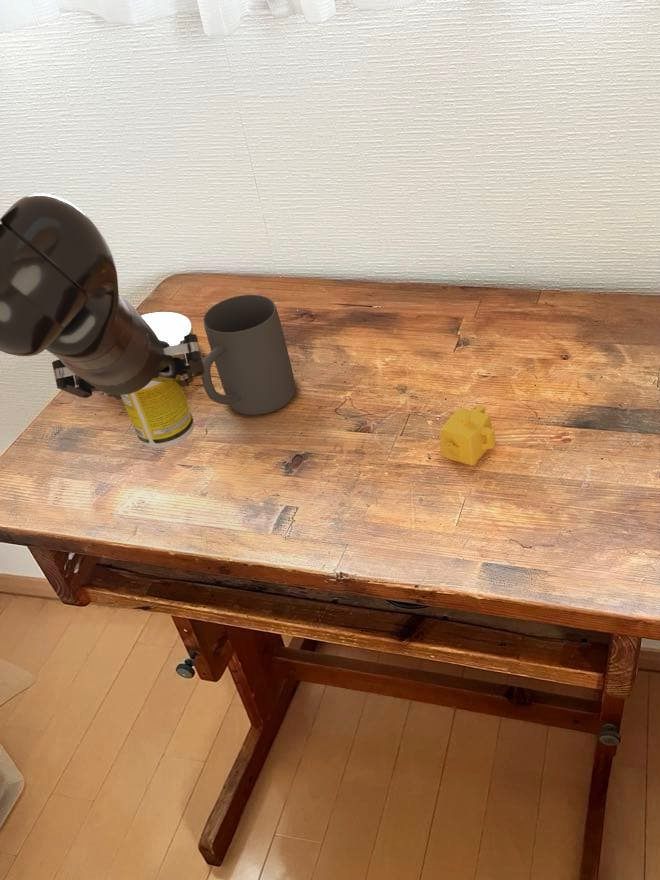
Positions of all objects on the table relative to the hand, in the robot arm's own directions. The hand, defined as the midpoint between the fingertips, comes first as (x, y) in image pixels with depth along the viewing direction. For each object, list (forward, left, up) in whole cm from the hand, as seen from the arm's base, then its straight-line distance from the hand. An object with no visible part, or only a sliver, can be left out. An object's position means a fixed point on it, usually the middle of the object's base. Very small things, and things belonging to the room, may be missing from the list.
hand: (151, 383), depth 88 cm
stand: (+18, +20, -14) cm, 30 cm away
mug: (+15, +2, -14) cm, 21 cm away
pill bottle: (-1, -1, -6) cm, 6 cm away
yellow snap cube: (+16, -29, -14) cm, 36 cm away
